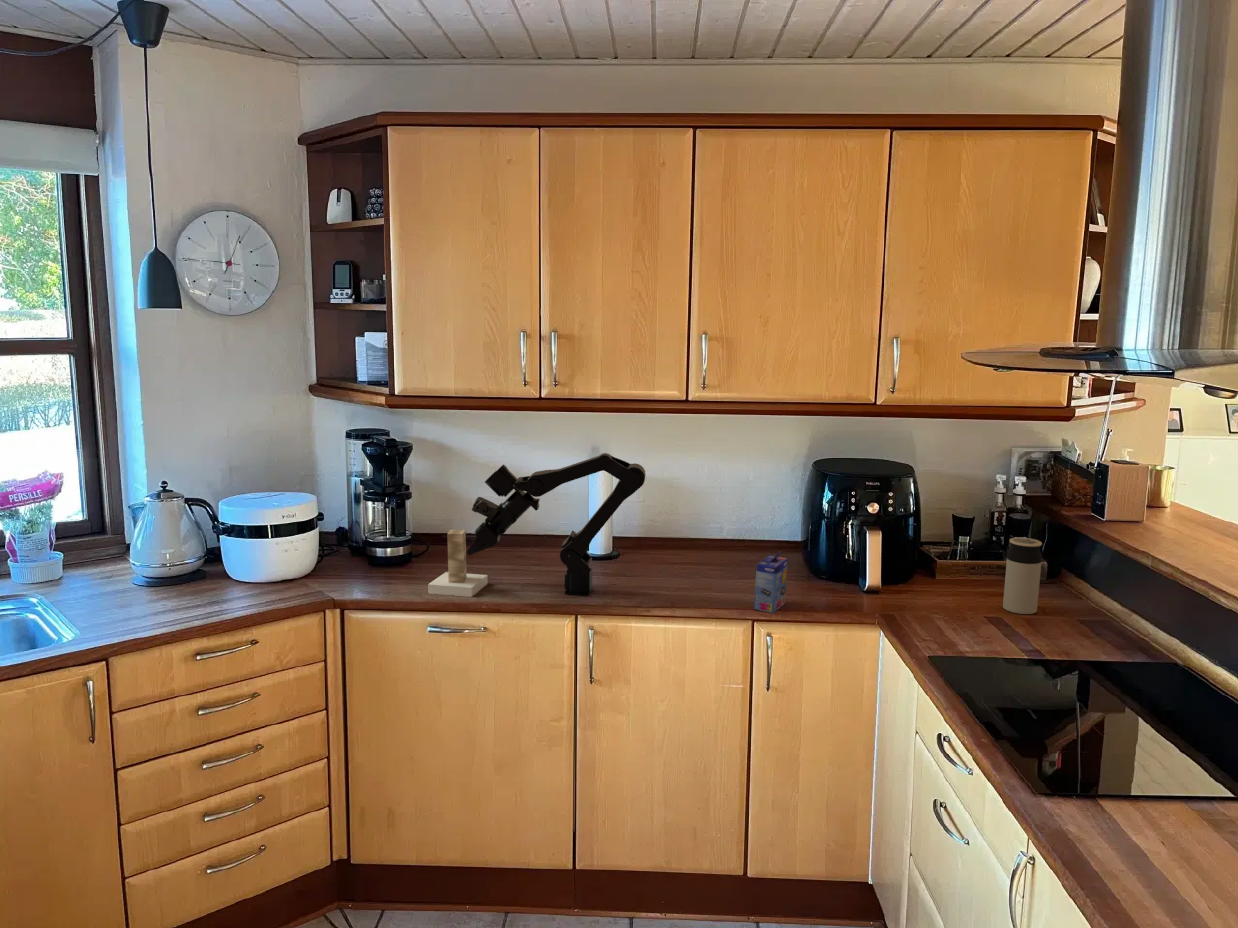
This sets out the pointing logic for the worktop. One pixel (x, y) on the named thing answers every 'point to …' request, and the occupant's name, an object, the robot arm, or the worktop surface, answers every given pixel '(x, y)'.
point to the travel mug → (1022, 576)
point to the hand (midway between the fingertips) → (471, 549)
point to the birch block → (456, 555)
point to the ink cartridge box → (770, 583)
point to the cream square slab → (458, 585)
